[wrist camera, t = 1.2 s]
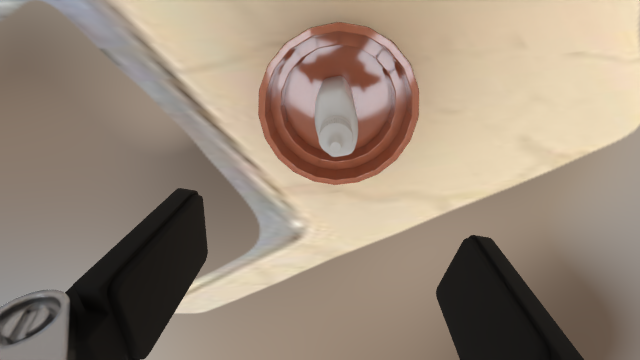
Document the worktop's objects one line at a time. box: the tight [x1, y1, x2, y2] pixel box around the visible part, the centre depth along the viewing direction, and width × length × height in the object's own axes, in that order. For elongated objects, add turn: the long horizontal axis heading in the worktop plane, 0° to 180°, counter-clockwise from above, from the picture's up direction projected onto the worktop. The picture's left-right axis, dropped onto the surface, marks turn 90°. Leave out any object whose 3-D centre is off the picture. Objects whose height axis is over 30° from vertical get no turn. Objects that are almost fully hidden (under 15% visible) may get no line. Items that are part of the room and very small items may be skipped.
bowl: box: [258, 22, 419, 185], centre depth 25 cm, size 14×14×5 cm
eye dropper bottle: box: [314, 76, 358, 157], centre depth 22 cm, size 4×6×12 cm
